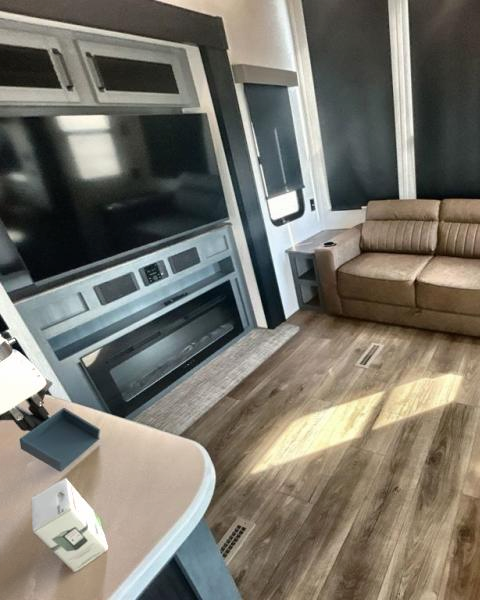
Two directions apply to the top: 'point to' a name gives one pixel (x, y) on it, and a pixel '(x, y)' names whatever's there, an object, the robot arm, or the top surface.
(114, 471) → the top surface
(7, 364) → the robot arm
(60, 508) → the ink box
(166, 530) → the top surface
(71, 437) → the dustpan
